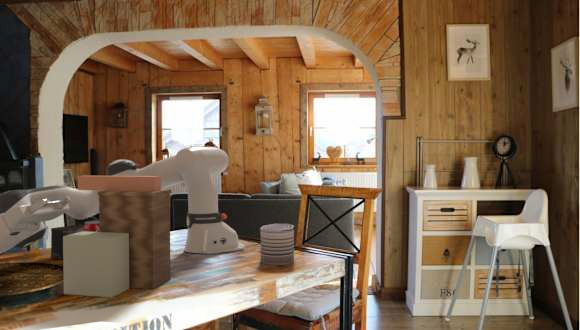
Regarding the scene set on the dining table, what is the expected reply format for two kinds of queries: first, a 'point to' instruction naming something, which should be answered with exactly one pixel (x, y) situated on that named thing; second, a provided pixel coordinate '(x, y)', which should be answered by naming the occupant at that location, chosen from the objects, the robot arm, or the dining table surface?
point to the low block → (96, 263)
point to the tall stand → (140, 232)
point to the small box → (61, 238)
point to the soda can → (91, 226)
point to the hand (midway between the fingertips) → (57, 199)
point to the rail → (120, 183)
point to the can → (277, 244)
